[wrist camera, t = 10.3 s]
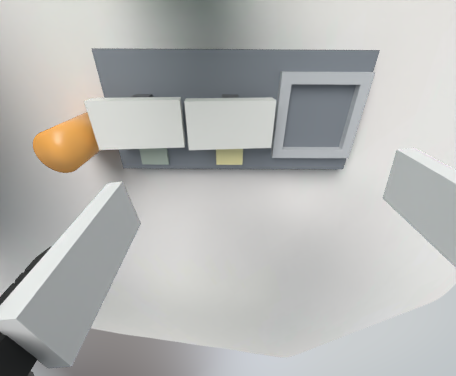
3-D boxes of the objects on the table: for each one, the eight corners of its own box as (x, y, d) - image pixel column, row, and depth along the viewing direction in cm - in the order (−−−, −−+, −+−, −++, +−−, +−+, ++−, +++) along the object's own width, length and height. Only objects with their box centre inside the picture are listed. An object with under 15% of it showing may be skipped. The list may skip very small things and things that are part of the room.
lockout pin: (84, 145, 27) (44, 172, 21) (73, 111, 25) (24, 130, 19) (117, 145, 27) (87, 172, 21) (108, 111, 25) (71, 131, 19)
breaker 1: (105, 144, 22) (99, 149, 21) (91, 97, 20) (84, 101, 19) (185, 142, 23) (184, 147, 22) (181, 96, 21) (179, 99, 20)
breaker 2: (189, 144, 23) (188, 150, 21) (185, 98, 20) (184, 101, 19) (267, 142, 23) (271, 147, 22) (272, 97, 21) (276, 100, 20)
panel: (129, 161, 28) (119, 173, 25) (102, 48, 22) (84, 48, 19) (336, 161, 28) (347, 173, 25) (367, 50, 22) (387, 50, 19)
